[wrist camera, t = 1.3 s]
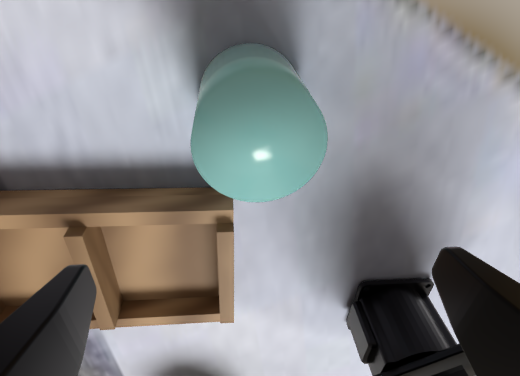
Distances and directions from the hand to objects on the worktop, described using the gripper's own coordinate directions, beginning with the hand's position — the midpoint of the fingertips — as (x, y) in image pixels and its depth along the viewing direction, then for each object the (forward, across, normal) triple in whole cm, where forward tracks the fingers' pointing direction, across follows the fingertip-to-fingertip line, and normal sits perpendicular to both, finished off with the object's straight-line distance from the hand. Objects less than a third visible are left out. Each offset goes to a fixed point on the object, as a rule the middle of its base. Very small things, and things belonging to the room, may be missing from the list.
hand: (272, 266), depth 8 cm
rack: (+12, +10, +11) cm, 19 cm away
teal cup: (+12, 0, 0) cm, 12 cm away
